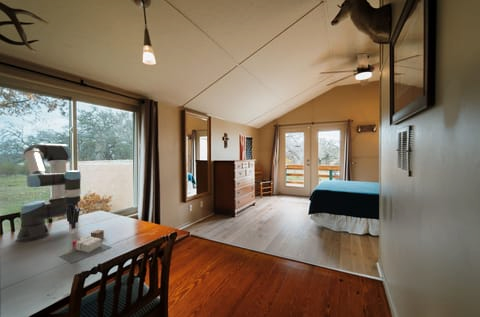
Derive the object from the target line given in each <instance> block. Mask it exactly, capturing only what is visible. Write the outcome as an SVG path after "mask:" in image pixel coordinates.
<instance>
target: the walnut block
mask: <svg viewBox="0 0 480 317" xmlns="http://www.w3.org/2000/svg"><path fill="white" fill-rule="evenodd" d="M104 236H105V232H104V230H103V229H102V230H101V229H96V230H94V231H91V232H90V237H95V238H99V239H101V240H102V239H103V238H104Z"/></svg>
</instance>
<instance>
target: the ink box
mask: <svg viewBox="0 0 480 317" xmlns="http://www.w3.org/2000/svg"><path fill="white" fill-rule="evenodd" d="M101 243H102V239H99V238H95V237H91V235H84V236H82V237H80V238H77V239H75V240H72V243H71V245H72V246H71V249H72V250H79V251H84V252H88V253H89V252H90V251H92V250H94V249H96V248H98V247H100V246H101Z"/></svg>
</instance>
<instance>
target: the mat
mask: <svg viewBox="0 0 480 317" xmlns="http://www.w3.org/2000/svg"><path fill="white" fill-rule="evenodd" d="M110 249H112V247H111V246H110V245H107V244H104V243H102V242H101V246H100V247H98V248H96V249H94V250H92V251H90V252H89V253H88V252H84V251H79V250H77V251H74V252H72V253H69V254H66V255H63V256H62V254H61V255H59V256H58V257H59V258H61V260H62V259H63V260H64V261H66V262H68V263H70V264H74V263H77V262H79V261H82V260H84V259H86V258H89V257H91V256H94V255H96V254H99V253H102V252H105V251H106V250H110Z"/></svg>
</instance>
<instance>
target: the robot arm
mask: <svg viewBox="0 0 480 317" xmlns="http://www.w3.org/2000/svg"><path fill="white" fill-rule="evenodd" d="M22 156H23V159H24V160H25V161H26V163H27V166H28V167H27V168H28V170H29V174H27V176H26V186H27V187H28V188H40V187H50V186H51V188H50V189H51V197H50V198H49V199H48V201H47V202H46V201H45V200H35V201H31V202H27V203H25V204H23V205H22V206H21V207H20V212H19V214H20V228H19V230H18V233H17V236H16V241H18V242H29V241H35V240H39V239H42V238H44V237H47V236H48V235H49V234H50V230H49V227H48V226H47V224H46V220H49V219H55V218H60V217H65V216H66V221H67V222H68V226H69V227H68V231H69V232H68V235H74V234H76V231H77V230H76V227H77V225H76V224H77V223H79V216H80V210H81V208H80V207H79V205H78V203H79V202H81V195H82V194H81V180H82V179H81V178H82V177H81V171H80V170H67V163H68V162H69V160H71V158H72V152H71V149H70V146H68V145H67V144H61V143H36V144H35V143H34V144H33V145H30V146H28V147H27V148H26V149H25V150H24V151H23V155H22ZM44 160H46V162H47V163H48V164H49V165H50V173H49V172H48V170H47V167H46V164H45V161H44Z"/></svg>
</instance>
